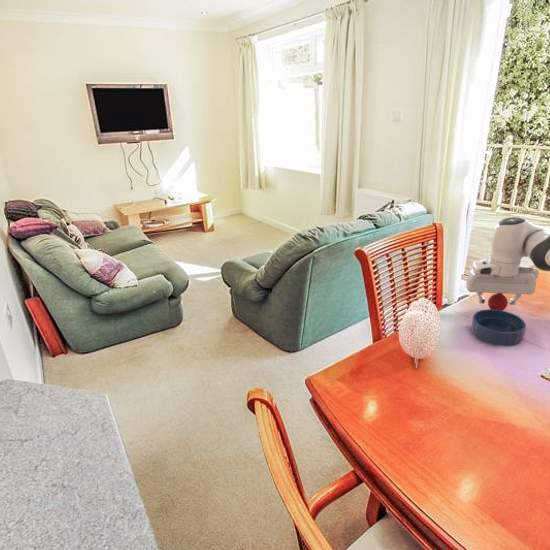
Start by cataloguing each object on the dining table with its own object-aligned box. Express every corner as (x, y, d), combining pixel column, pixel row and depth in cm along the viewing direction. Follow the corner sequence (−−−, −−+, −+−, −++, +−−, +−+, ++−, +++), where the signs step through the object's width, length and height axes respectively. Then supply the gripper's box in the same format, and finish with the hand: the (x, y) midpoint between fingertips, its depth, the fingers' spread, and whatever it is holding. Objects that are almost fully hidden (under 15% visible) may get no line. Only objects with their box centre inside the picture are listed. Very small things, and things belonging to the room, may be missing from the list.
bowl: (514, 323, 123) (517, 310, 121) (529, 349, 110) (532, 334, 108) (467, 321, 126) (469, 308, 124) (476, 345, 114) (478, 331, 112)
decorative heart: (430, 381, 101) (436, 327, 94) (390, 370, 106) (393, 318, 99) (440, 345, 115) (446, 296, 108) (405, 337, 120) (408, 290, 113)
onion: (502, 318, 126) (508, 297, 123) (483, 312, 130) (489, 291, 126) (506, 312, 130) (512, 291, 127) (488, 306, 134) (493, 286, 130)
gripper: (536, 263, 123) (527, 300, 129) (467, 262, 128) (462, 297, 134) (543, 271, 117) (534, 309, 123) (471, 269, 123) (466, 306, 128)
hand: (496, 303), depth 128 cm, fingers open, 8 cm apart
